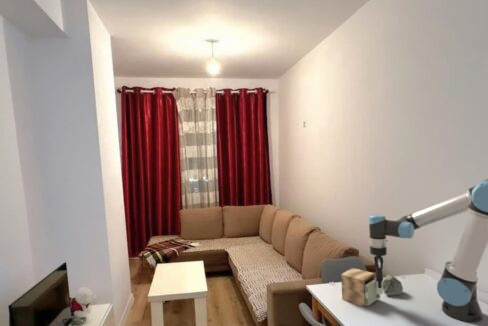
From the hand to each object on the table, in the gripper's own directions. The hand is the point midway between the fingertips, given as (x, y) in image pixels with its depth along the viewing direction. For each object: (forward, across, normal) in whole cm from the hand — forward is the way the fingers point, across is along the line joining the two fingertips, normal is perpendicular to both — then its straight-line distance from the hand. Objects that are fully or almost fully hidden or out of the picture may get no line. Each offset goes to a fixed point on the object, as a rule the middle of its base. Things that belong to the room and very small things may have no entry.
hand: (379, 293), depth 152 cm
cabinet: (+5, +3, +10) cm, 12 cm away
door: (+4, -1, +3) cm, 5 cm away
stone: (+6, +15, -7) cm, 17 cm away
